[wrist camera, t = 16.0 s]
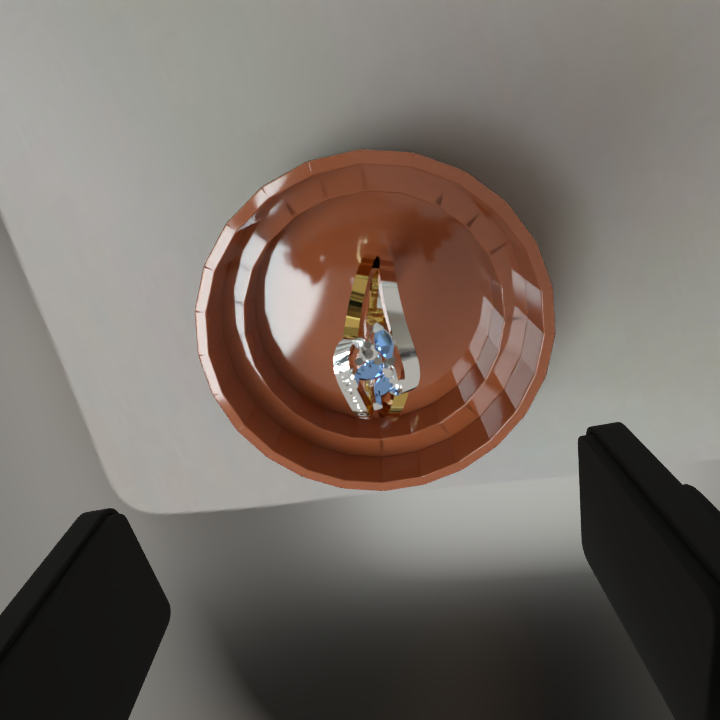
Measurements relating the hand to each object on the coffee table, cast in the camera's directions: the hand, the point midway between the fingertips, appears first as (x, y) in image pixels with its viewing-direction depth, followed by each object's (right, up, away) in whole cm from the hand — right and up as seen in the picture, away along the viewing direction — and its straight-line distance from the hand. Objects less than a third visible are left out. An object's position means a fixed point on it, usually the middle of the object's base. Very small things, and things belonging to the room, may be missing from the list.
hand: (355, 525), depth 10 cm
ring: (+1, +6, +15) cm, 16 cm away
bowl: (+1, +6, +15) cm, 16 cm away
